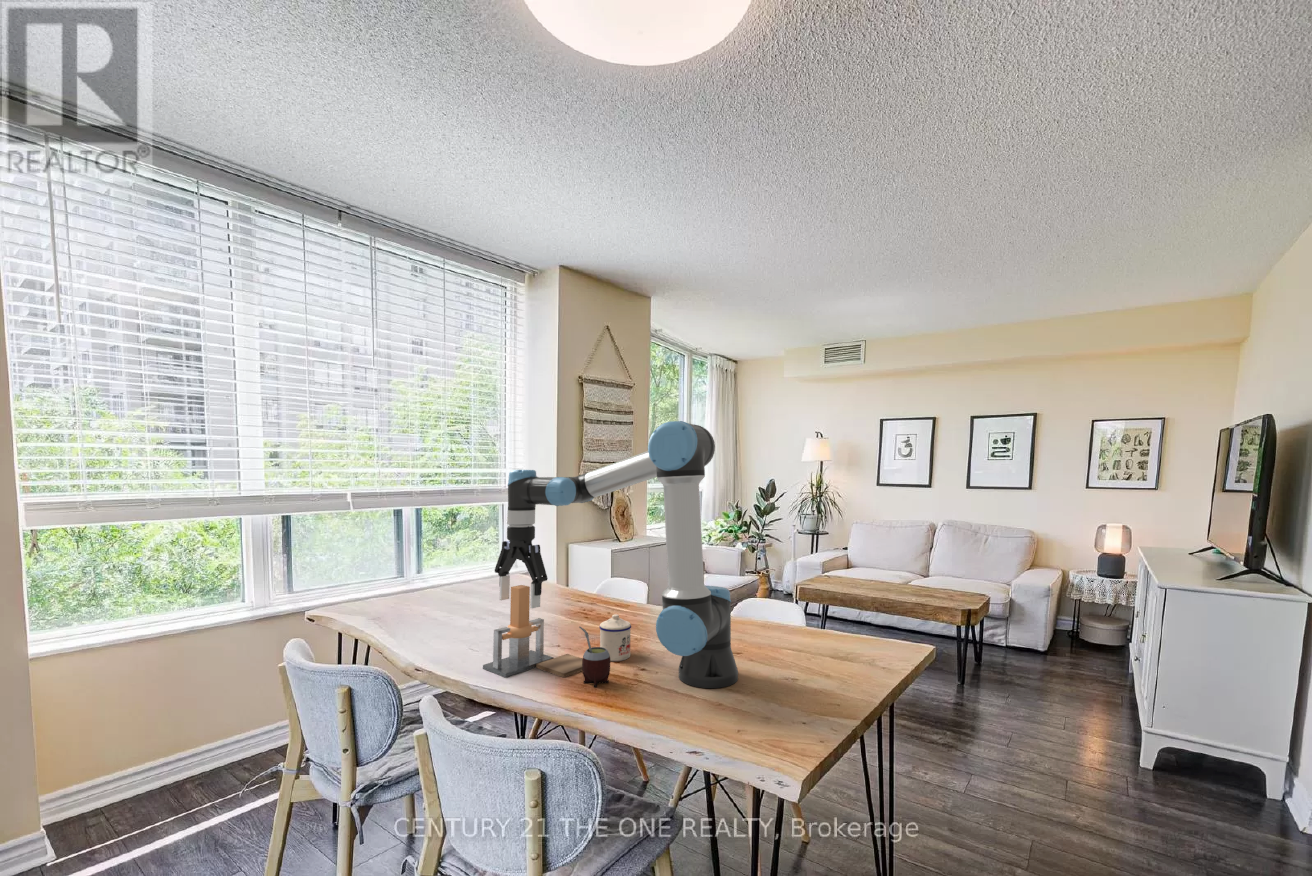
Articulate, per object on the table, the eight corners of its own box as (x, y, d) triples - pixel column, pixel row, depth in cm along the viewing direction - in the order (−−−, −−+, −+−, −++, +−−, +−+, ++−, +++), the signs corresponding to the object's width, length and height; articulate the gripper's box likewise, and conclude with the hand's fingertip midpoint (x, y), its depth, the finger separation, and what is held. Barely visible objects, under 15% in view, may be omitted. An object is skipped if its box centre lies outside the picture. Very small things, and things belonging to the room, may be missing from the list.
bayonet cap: (529, 628, 159) (529, 582, 159) (543, 632, 155) (544, 584, 155) (494, 637, 150) (495, 588, 150) (508, 642, 146) (509, 591, 146)
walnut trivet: (594, 665, 151) (594, 662, 151) (563, 677, 142) (563, 673, 142) (567, 657, 158) (567, 653, 158) (536, 667, 149) (536, 664, 149)
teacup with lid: (624, 663, 153) (624, 620, 154) (593, 660, 156) (594, 617, 156) (639, 650, 164) (639, 610, 165) (610, 647, 167) (611, 607, 168)
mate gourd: (611, 677, 143) (611, 618, 143) (609, 689, 135) (609, 626, 136) (581, 677, 142) (582, 618, 143) (578, 689, 134) (578, 626, 135)
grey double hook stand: (531, 653, 161) (531, 615, 162) (553, 661, 155) (554, 621, 155) (482, 668, 149) (483, 627, 149) (505, 677, 142) (506, 634, 143)
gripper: (561, 527, 149) (560, 608, 148) (505, 521, 165) (503, 594, 163) (539, 529, 143) (537, 613, 142) (483, 523, 159) (481, 598, 158)
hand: (519, 603), depth 153 cm, fingers open, 13 cm apart
